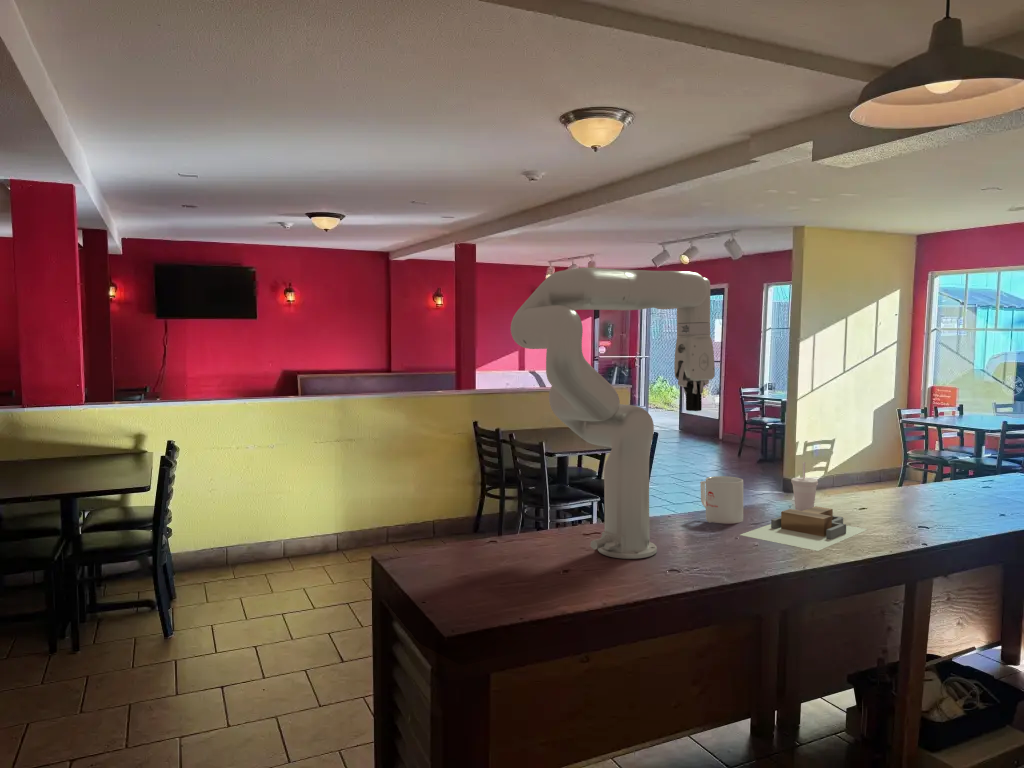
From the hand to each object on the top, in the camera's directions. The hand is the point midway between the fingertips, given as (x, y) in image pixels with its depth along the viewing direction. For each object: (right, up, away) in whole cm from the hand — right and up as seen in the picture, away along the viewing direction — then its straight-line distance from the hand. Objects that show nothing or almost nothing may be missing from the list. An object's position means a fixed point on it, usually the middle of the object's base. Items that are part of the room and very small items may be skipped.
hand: (693, 410), depth 164 cm
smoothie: (+32, -28, +16) cm, 46 cm away
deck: (+25, -29, -3) cm, 38 cm away
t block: (+28, -28, +1) cm, 39 cm away
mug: (+10, -29, +12) cm, 33 cm away
